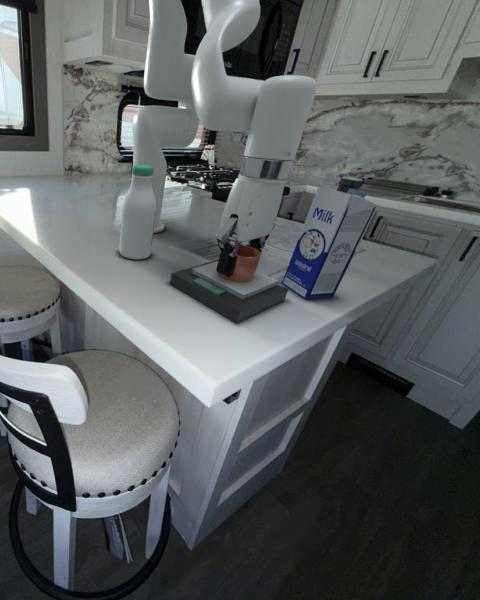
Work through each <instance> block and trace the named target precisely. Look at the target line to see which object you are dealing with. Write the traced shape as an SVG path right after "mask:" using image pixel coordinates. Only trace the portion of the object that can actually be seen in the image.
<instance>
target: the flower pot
mask: <svg viewBox="0 0 480 600" xmlns="http://www.w3.org/2000/svg"><path fill="white" fill-rule="evenodd" d="M230 244H231V246H232V247H233V246H234V244H235V243H230ZM235 256H237V260H236V263H235V267H234V271H233V274H232V276H231V277H227V276H225V275H223V274H221V273H219V272H217V273H218V275H219V276H221V277H222V278H224V279H227V280H229V281H233V282H239V283H246V282H251V281H252V280H253V279H254V276H255V273H256V271H257V270H258V267H259V264H260V261H261V258H262V252H260V251H259V250H257V249H255V248H253V247H250V246H246V244H241V246H240V247H239V249H238V251H237V253H236V255H235Z"/></svg>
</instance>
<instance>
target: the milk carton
mask: <svg viewBox="0 0 480 600" xmlns="http://www.w3.org/2000/svg"><path fill="white" fill-rule="evenodd" d="M336 190H337V189H331V188H328V187H324V186H320V185H318V186H317V190H316V191H315V195H314V198H313V200H312V203H311V204H310V208H309V211H308V213H307V217H306V218H305V221H304V223H303V226H302V229H301V231H300V234H299V237H298V240H297V242H296V245H295V247H294V250H293V252H292V255H291V257H290V260H289V263H288V266H287V268H286V271H285V273H284V276H283V279H282V280H281V284H282V285H284V287H285V288H287V289H289V290H290V291H293V292H294V293H295V294H296V295H298V296H300V297H301V298H303V300H314V299H315V300H316V299H327V298H334V296H335V294H336V292H337V290H338V288H339V286H340V284H341V283H342V280H343V279H344V276H345V274H346V272H347V270H348V268H349V265H350V264H351V262H352V260H353V258H354V256H355V253H356V252H357V249H358V247H359V245H360V243H361V241H362V240H363V237H364V235H365V233H366V231H367V229H368V227H369V225H370V223H371V221H372V219H373V217H374V215H375V213H376V211H377V208H378V207H379V204H377V203H375V202H372V201H370V200H369V199H366V196H367V195H368V193H366V192H364V191H361V190H359V189H358V190H355V189H351V188H349V190H348V191H347V193H344V192H340V191H336Z"/></svg>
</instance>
